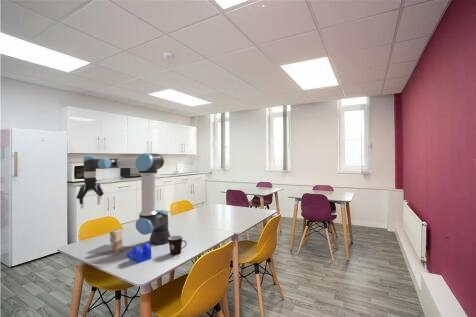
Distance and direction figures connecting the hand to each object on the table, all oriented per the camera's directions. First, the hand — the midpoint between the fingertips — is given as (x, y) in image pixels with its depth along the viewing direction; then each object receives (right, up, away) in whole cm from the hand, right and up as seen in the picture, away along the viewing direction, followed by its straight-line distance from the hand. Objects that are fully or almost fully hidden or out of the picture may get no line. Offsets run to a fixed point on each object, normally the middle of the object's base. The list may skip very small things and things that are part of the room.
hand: (91, 206), depth 173 cm
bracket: (+45, -27, -26) cm, 59 cm away
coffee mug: (+69, -26, -23) cm, 77 cm away
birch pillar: (+26, -26, -15) cm, 40 cm away
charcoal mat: (+22, -27, -14) cm, 37 cm away
